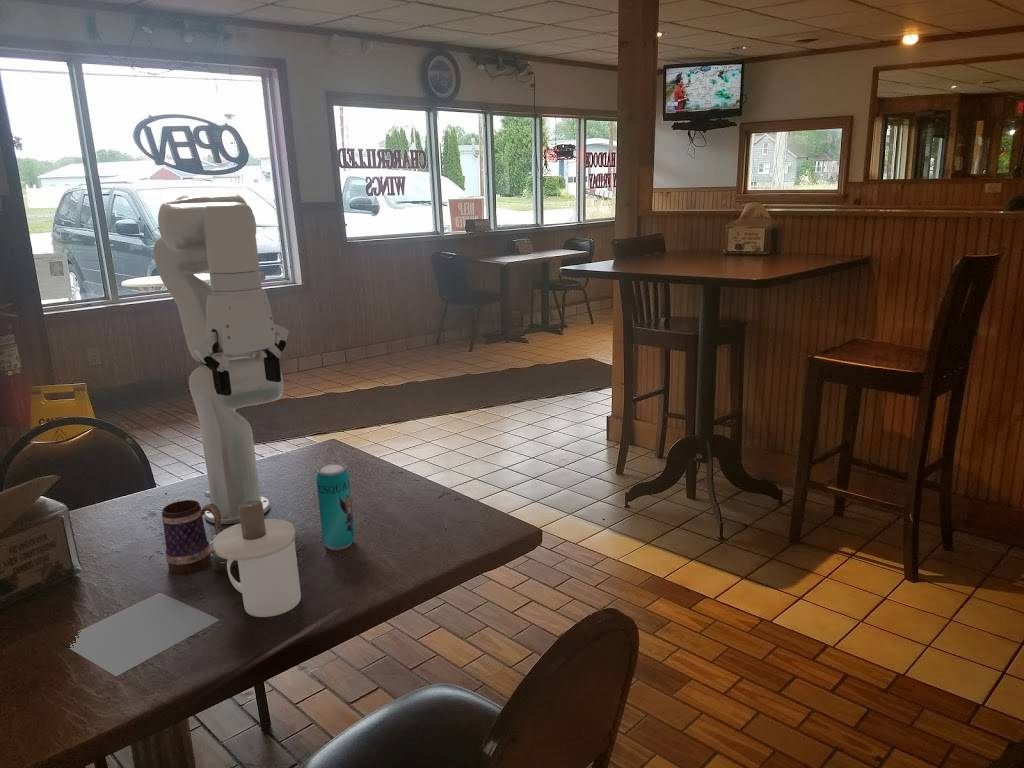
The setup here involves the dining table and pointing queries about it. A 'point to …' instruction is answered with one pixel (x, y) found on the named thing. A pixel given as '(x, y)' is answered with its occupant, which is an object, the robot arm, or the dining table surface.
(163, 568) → the dining table surface
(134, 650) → the mat
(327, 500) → the beverage can
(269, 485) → the dining table surface
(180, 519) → the mug
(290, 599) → the mug
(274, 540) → the lid
